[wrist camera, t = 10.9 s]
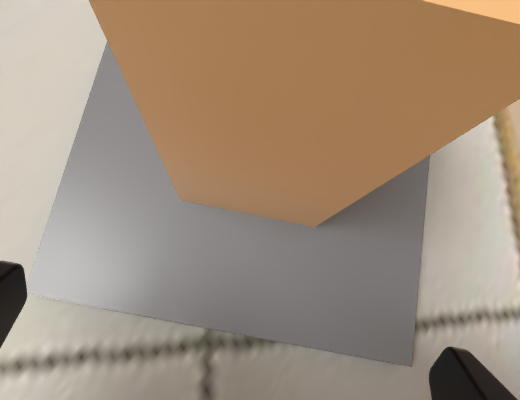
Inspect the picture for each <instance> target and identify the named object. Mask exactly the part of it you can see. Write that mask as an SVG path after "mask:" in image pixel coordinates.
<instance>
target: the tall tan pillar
mask: <svg viewBox="0 0 520 400" xmlns="http://www.w3.org/2000/svg"><path fill="white" fill-rule="evenodd" d="M89 2H90V4H91V6H92V8H93V10H94V13H95V15H96V17H97V19H98V21H99V24H100V26H101V28H102V30H103V32H104V35H105V37H106V39H107V41H108V43H109V46H110V48H111V50H112V52H113V54H114V57H115V59H116V61H117V63H118V65H119V67H120V70H121V72H122V74H123V76H124V78H125V81H126V83H127V85H128V87H129V89H130V92H131V94H132V96H133V98H134V100H135V103H136V105H137V107H138V109H139V111H140V113H141V116H142V118H143V120H144V122H145V124H146V127H147V129H148V131H149V133H150V135H151V138H152V140H153V142H154V144H155V146H156V149H157V151H158V153H159V155H160V157H161V160H162V162H163V164H164V166H165V168H166V170H167V173H168V175H169V177H170V179H171V181H172V184H173V186H174V188H175V190H176V192H177V195H178V197H179V199H180V200H183V201H188V202H193V203H197V204H202V205H207V206H212V207H217V208H222V209H227V210H232V211H237V212H242V213H247V214H252V215H257V216H262V217H266V218H271V219H276V220H281V221H286V222H291V223H296V224H301V225H306V226H311V227H316V226H317V225H319V224H320V223H322V222H324V221H325V220H327V219H328V218H330V217H332V216H333V215H335V214H336V213H338V212H340V211H341V210H343V209H344V208H346V207H348V206H349V205H351V204H352V203H354V202H356V201H357V200H359V199H360V198H362V197H364V196H365V195H367V194H368V193H370V192H372V191H373V190H375V189H376V188H378V187H380V186H381V185H383V184H384V183H386V182H388V181H389V180H391V179H392V178H394V177H396V176H397V175H399V174H400V173H402V172H404V171H405V170H407V169H408V168H410V167H412V166H413V165H415V164H416V163H418V162H420V161H421V160H423V159H424V158H426V157H428V156H429V155H431V154H432V153H434V152H436V151H437V150H439V149H440V148H442V147H443V146H445V145H447V144H448V143H450V142H451V141H453V140H455V139H456V138H458V137H459V136H461V135H463V134H464V133H466V132H467V131H469V130H471V129H472V128H474V127H475V126H477V125H479V124H480V123H482V122H483V121H485V120H487V119H488V118H490V117H491V116H493V115H495V114H496V113H498V112H499V111H501V110H503V109H504V108H506V107H507V106H509V105H511V104H512V103H514V102H515V101H517V100H519V99H520V0H89Z"/></svg>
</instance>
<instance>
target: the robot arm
mask: <svg viewBox="0 0 520 400" xmlns="http://www.w3.org/2000/svg"><path fill="white" fill-rule="evenodd" d="M26 299H27V287H26V281H25V274H24V269H23V267H22V265H20V264H18V263H12V262H7V261H0V348H1V346H2V344H3V343H4V341H5V339H6V337H7V335H8V333H9V332H10V330H11V328H12V326H13V324H14V323H15V321H16V319H17V317H18V315H19V313H20V312H21V310H22V308H23V306H24V304H25V302H26ZM429 384H430V390H431V397H432V400H517V399H516V398H515V397H514V396H513V395H512V394H511V393H510V392H509V391H508V390H507V389H506V388H505V387H504V386H503V385H502V384H501V383H500V382H499V381H498V380H497V379H496V378H495V377H494V376H493V375H492V374H491V373H490V372H489V371H488V370H487V369H486V368H485V367H484V366H483V365H482V364H481V363H480V362H479V361H478V360H477V359H476V358H475V357H474V356H473V355H472V354H471V353H470V352H469V351H467V350H465V349H460V348H455V347H447V348H445V349H444V350H443V352H442V353H441V355H440V356H439V357H438V359H437V360H436V362H435V363H434V364H433V366H432V367H431V369H430V372H429Z"/></svg>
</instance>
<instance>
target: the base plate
mask: <svg viewBox="0 0 520 400" xmlns="http://www.w3.org/2000/svg"><path fill="white" fill-rule="evenodd" d="M429 158H430V155H429V156H428V157H426V158H424V159H423V160H421V161H420V162H418V163H416V164H415V165H413V166H412V167H410V168H408V169H407V170H405V171H404V172H402V173H400V174H399V175H397V176H396V177H394V178H392V179H391V180H389V181H388V182H386V183H384V184H383V185H381V186H380V187H378V188H376V189H375V190H373V191H372V192H370V193H368V194H367V195H365V196H364V197H362V198H360V199H359V200H357V201H356V202H354V203H352V204H351V205H349V206H348V207H346V208H344V209H343V210H341V211H340V212H338V213H336V214H335V215H333V216H332V217H330V218H328V219H327V220H325V221H324V222H322V223H320V224H319V225H317V226H316V227H311V226H306V225H301V224H296V223H291V222H286V221H281V220H276V219H271V218H266V217H262V216H257V215H252V214H247V213H242V212H237V211H232V210H227V209H222V208H217V207H212V206H207V205H202V204H197V203H193V202H188V201H183V200H180V199H179V197H178V195H177V192H176V190H175V188H174V186H173V184H172V181H171V179H170V177H169V175H168V173H167V170H166V168H165V166H164V164H163V162H162V160H161V157H160V155H159V153H158V151H157V149H156V146H155V144H154V142H153V140H152V138H151V135H150V133H149V131H148V129H147V127H146V124H145V122H144V120H143V118H142V116H141V113H140V111H139V109H138V107H137V105H136V103H135V100H134V98H133V96H132V94H131V92H130V89H129V87H128V85H127V83H126V81H125V78H124V76H123V74H122V72H121V70H120V67H119V65H118V63H117V61H116V59H115V57H114V54H113V52H112V50H111V48H110V46H109V43H108V41H107V44H106V47H105V50H104V53H103V56H102V59H101V62H100V65H99V68H98V71H97V74H96V77H95V80H94V83H93V86H92V89H91V92H90V95H89V98H88V101H87V104H86V107H85V110H84V113H83V116H82V119H81V122H80V125H79V128H78V131H77V134H76V137H75V140H74V143H73V146H72V149H71V152H70V155H69V158H68V161H67V164H66V167H65V170H64V173H63V176H62V179H61V182H60V186H59V189H58V192H57V195H56V198H55V201H54V204H53V207H52V210H51V213H50V216H49V219H48V222H47V225H46V228H45V231H44V234H43V237H42V240H41V243H40V246H39V249H38V252H37V255H36V258H35V261H34V264H33V267H32V270H31V273H30V276H29V279H28V282H27V285H26V287H27V294H28V295H33V296H38V297H43V298H49V299H54V300H59V301H65V302H70V303H75V304H81V305H86V306H91V307H96V308H102V309H107V310H112V311H118V312H123V313H128V314H134V315H139V316H144V317H150V318H155V319H160V320H165V321H171V322H176V323H181V324H187V325H192V326H197V327H203V328H208V329H213V330H218V331H224V332H229V333H234V334H240V335H245V336H250V337H256V338H261V339H266V340H271V341H277V342H282V343H287V344H293V345H298V346H303V347H309V348H314V349H319V350H324V351H330V352H335V353H340V354H346V355H351V356H356V357H362V358H367V359H372V360H377V361H383V362H388V363H393V364H399V365H404V366H409V367H412V355H413V344H414V332H415V321H416V309H417V297H418V286H419V274H420V262H421V251H422V239H423V227H424V216H425V204H426V193H427V181H428V169H429Z"/></svg>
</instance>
